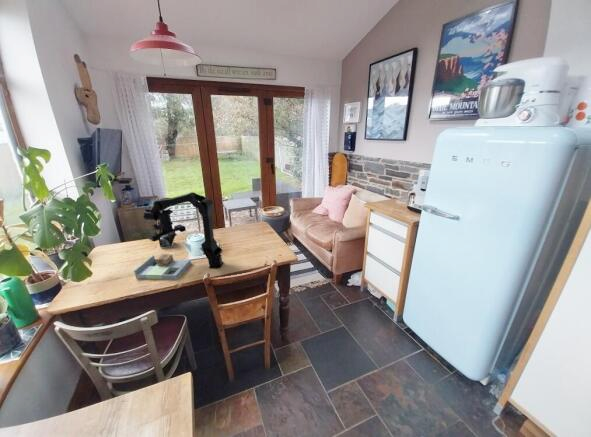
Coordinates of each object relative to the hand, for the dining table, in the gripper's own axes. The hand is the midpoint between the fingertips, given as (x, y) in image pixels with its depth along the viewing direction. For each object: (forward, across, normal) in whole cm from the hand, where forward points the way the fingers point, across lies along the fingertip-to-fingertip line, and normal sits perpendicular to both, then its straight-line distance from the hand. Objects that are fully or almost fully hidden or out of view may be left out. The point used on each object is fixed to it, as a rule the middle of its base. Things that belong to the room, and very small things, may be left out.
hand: (170, 245), depth 140 cm
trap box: (+12, +7, +4) cm, 14 cm away
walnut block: (+9, +5, 0) cm, 10 cm away
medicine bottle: (+12, -9, -27) cm, 31 cm away
